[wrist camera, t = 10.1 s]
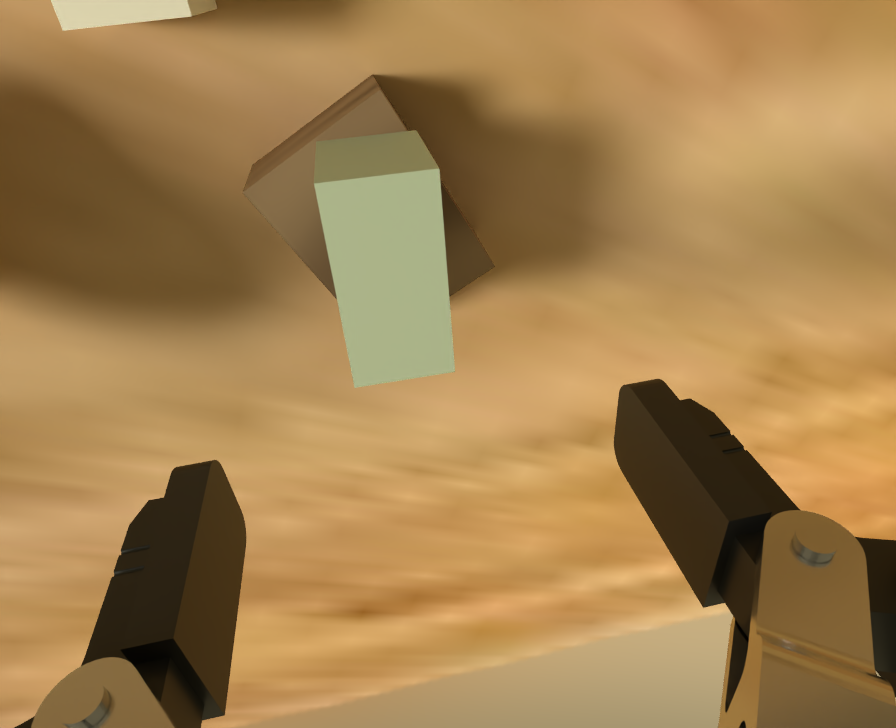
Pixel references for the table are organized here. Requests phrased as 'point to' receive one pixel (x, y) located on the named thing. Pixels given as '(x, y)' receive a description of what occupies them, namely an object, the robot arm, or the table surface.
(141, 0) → the cream brick
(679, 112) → the table surface
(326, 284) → the walnut brick
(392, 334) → the sage brick
